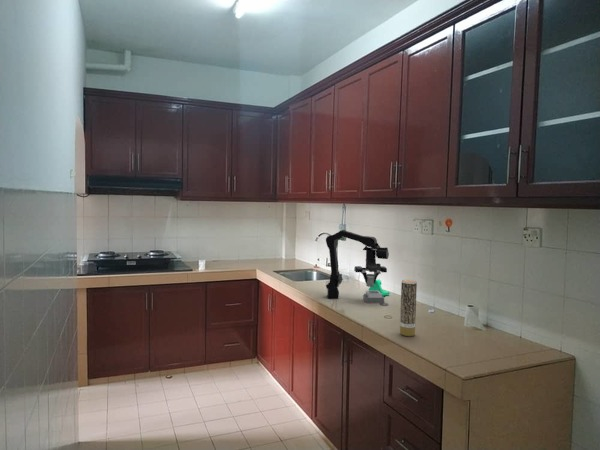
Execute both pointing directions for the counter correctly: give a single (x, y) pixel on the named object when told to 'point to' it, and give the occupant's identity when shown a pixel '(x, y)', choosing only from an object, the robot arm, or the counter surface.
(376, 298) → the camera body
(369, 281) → the lens
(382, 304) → the lens cap
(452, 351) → the counter surface
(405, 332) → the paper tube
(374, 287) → the camera mount
